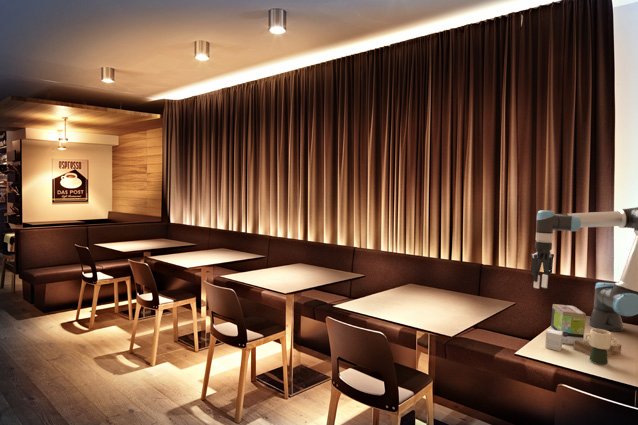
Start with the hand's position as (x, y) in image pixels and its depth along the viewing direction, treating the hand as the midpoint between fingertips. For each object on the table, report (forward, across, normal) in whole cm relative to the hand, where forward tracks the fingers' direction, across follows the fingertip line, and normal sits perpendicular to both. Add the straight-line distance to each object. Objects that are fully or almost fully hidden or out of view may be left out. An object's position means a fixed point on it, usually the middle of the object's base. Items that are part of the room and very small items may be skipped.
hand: (540, 287), depth 220 cm
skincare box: (+21, +17, +23) cm, 35 cm away
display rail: (+21, +2, +32) cm, 38 cm away
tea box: (+21, 0, +16) cm, 26 cm away
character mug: (+21, +14, +41) cm, 48 cm away
